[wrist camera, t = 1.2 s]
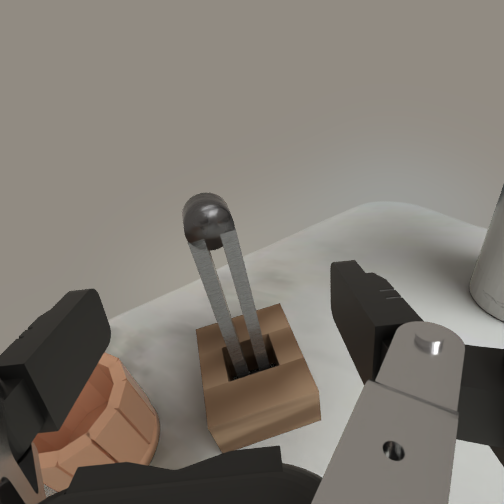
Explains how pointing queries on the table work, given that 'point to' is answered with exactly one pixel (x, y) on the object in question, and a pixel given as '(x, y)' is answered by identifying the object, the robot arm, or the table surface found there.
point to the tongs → (201, 242)
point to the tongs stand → (256, 384)
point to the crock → (101, 427)
